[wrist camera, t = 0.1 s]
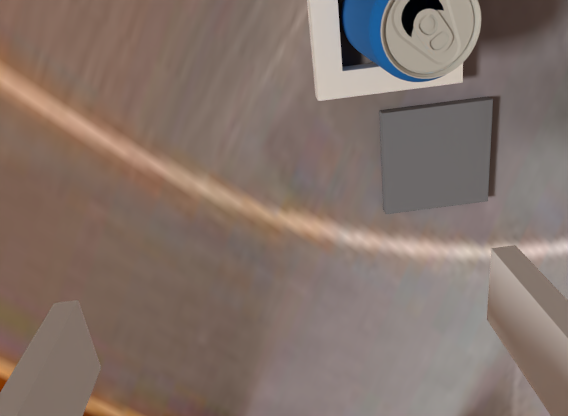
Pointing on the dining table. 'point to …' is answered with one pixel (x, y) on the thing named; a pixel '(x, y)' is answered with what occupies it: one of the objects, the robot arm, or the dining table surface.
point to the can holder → (353, 78)
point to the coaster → (435, 154)
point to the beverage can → (413, 34)
